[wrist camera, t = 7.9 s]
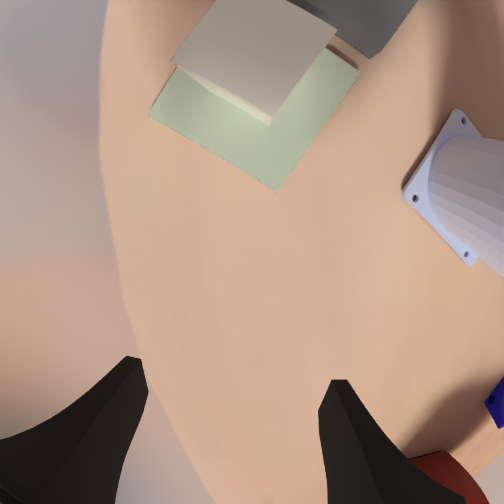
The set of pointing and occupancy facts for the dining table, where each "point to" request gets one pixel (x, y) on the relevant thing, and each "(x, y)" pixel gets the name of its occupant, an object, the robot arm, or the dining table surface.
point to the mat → (249, 127)
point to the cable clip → (497, 404)
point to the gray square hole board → (361, 20)
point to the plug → (253, 52)
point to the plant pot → (451, 476)
